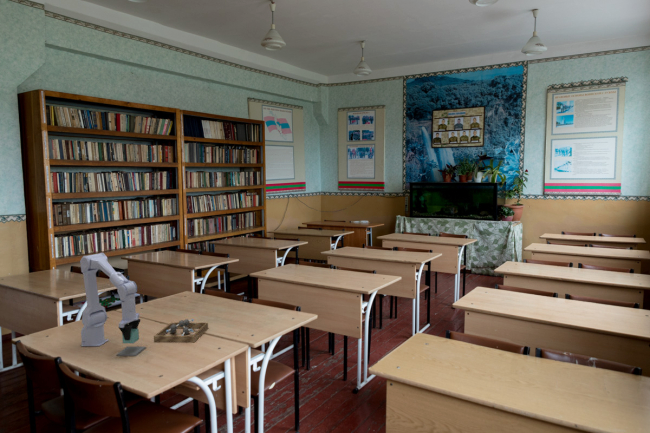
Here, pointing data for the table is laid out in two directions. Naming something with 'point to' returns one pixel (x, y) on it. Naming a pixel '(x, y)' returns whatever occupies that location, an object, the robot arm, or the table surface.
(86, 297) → the robot arm
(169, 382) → the table surface
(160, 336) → the display frame
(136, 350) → the mat
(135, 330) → the cube
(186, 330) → the molecule model
